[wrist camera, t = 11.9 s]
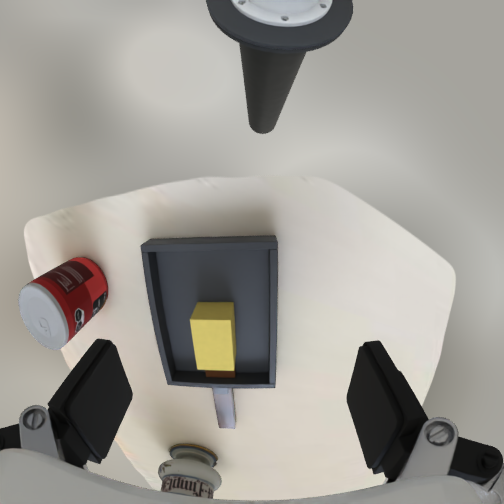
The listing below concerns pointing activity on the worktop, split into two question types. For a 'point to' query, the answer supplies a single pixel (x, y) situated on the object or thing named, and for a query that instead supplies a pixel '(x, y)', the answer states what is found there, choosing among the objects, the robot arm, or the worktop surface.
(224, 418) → the pan handle
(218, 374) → the plate
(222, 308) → the sponge
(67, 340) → the canned food
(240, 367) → the pan
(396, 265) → the worktop surface
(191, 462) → the apothecary jar
